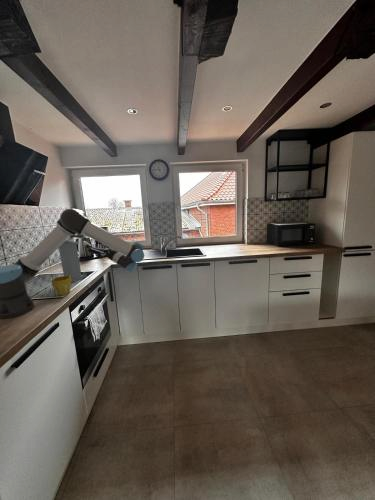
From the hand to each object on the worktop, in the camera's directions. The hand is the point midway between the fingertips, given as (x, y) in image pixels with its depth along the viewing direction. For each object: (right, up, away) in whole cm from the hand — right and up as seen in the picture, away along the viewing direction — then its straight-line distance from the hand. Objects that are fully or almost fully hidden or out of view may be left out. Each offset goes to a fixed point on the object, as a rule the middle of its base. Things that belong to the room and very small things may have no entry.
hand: (91, 240), depth 137 cm
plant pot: (-11, -33, -13) cm, 37 cm away
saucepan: (-17, -1, +7) cm, 18 cm away
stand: (-20, -28, +13) cm, 37 cm away
